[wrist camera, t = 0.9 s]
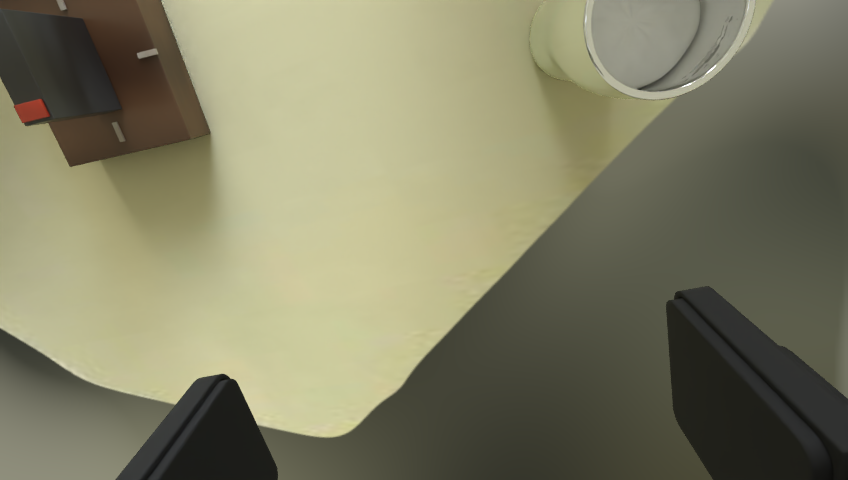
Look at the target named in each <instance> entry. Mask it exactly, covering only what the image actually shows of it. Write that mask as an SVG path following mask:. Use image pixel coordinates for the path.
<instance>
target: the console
mask: <svg viewBox="0 0 848 480" xmlns="http://www.w3.org/2000/svg"><path fill="white" fill-rule="evenodd" d="M0 9H8V10H17V11H25V12H34V13H42V14H51V15H59V16H68V17H76V18H83V20H84V23H85V25H86V27H87V29H88V32H89V34H90V36H91V39H92V41H93V43H94V45H95V48H96V50H97V52H98V55H99V57H100V59H101V61H102V64H103V66H104V68H105V71H106V73H107V75H108V77H109V80H110V82H111V84H112V87H113V89H114V91H115V93H116V96H117V98H118V100H119V103H120V105H121V107H122V110H118V111H114V112H110V113H106V114H102V115H97V116H91V117H84V118H77V119H71V120H64V121H58V122H51V123H49V125H50V127H51V129H52V131H53V133H54V135H55V137H56V139H57V141H58V143H59V145H60V147H61V149H62V151H63V154H64V156H65V158H66V160H67V162H68V164H69V166H70V167H72V166H77V165H81V164H85V163H90V162H94V161H98V160H103V159H107V158H111V157H116V156H120V155H125V154H129V153H133V152H138V151H142V150H146V149H151V148H155V147H159V146H164V145H168V144H172V143H177V142H181V141H185V140H190V139H193V138H197V137H200V136H203V135H207V134H210V130H209V127H208V125H207V122H206V119H205V117H204V114H203V111H202V109H201V106H200V103H199V101H198V98H197V95H196V93H195V90H194V88H193V85H192V82H191V80H190V77H189V74H188V72H187V69H186V66H185V64H184V61H183V58H182V56H181V53H180V50H179V48H178V45H177V43H176V40H175V37H174V35H173V32H172V29H171V27H170V24H169V21H168V19H167V16H166V13H165V11H164V8H163V5H162V3H161V0H0Z"/></svg>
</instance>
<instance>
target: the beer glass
mask: <svg viewBox="0 0 848 480" xmlns="http://www.w3.org/2000/svg"><path fill="white" fill-rule="evenodd" d="M755 5H756V0H545V1H544V2H543V3H542V4H541V5H540V7H539V8H538V10H537V12H536V13H535V15H534V18H533V20H532V23H531V27H530V34H529V43H530V49H531V53H532V56H533V58H534V60H535V62H536V64H537V65H538V66H539V68H540V69H541V70H542V71H543V72H545V73H546V74H547V75H549V76H551V77H553V78H556V79H559V80H566V81H572V82H573V83H575V84H576V85H577V86H579V87H580V88H582V89H584V90H586V91H589V92H591V93H594V94H597V95H600V96H604V97H609V98H617V99H644V100H663V99H669V98H673V97H677V96H680V95H683V94H686V93H688V92H690V91H692V90H694V89H696V88H698V87H700V86H702V85H703V84H704V83H706V82H707V81H709V80H710V79H712V78H713V77H714V76H715V75H716V74H718V73H719V72H720V71H721V70H722V69H723V68H724V67H725V66H726V65H727V64H728V62H729V61H730V60H731V59H732V57H733V56H734V55H735V53H736V52H737V50H738V49H739V47H740V46H741V44H742V42H743V40H744V38H745V36H746V34H747V32H748V30H749V27H750V24H751V22H752V18H753V14H754V10H755Z"/></svg>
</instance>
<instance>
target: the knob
mask: <svg viewBox="0 0 848 480" xmlns="http://www.w3.org/2000/svg"><path fill="white" fill-rule="evenodd" d="M0 78H1V80H2V82H3V83H4V85H5V87H6V89H7V91H8V93H9V95H10V97H11V99H12V101H13V103H14V105H15V106H14V108H15V110H16V112H17V114H18V116H19V117H20V119H21V121H22V123H24V124H25V126H31V125H38V124H44V123H51V122H58V121H64V120H71V119H77V118H84V117H91V116H97V115H102V114H106V113H110V112H114V111H118V110H122V107H121V105H120V103H119V100H118V98H117V96H116V93H115V91H114V89H113V87H112V84H111V82H110V80H109V77H108V75H107V73H106V71H105V68H104V66H103V64H102V61H101V59H100V57H99V55H98V52H97V50H96V48H95V45H94V43H93V41H92V39H91V36H90V34H89V32H88V29H87V27H86V25H85V23H84V20H83V18H76V17H68V16H59V15H51V14H42V13H34V12H25V11H17V10H8V9H0Z"/></svg>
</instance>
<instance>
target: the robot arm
mask: <svg viewBox="0 0 848 480" xmlns="http://www.w3.org/2000/svg"><path fill="white" fill-rule="evenodd" d="M666 312H667V326H668V340H669V356H670V370H671V384H672V398H673V410H674V414H675V417H676V420H677V422H678V424H679V426H680V428H681V429H682V431H683V432H684V434H685V436H686V437H687V439H688V440H689V442H690V444H691V445H692V447H693V448H694V450H695V452H696V453H697V455H698V456H699V458H700V460H701V461H702V463H703V464H704V466H705V467H706V469H707V471H708V472H709V474H710V475H711V477H712V479H713V480H848V399H847V398H846V397H845V396H844V395H843V394H841V393H840V392H839V391H838V390H837V389H835V388H834V387H833V386H832V385H831V384H830V383H828V382H827V381H826V380H825V379H824V378H822V377H821V376H820V375H819V374H818V373H817V372H815V371H814V370H813V369H812V368H810V367H809V366H808V365H807V364H806V363H805V362H804V361H802V360H801V359H800V358H799V357H798V356H796V355H795V354H794V353H793V352H792V351H790V350H788V349H787V348H785V347H783V346H779V345H777V344H776V343H775V342H774V341H773V340H771V339H770V338H769V337H768V336H767V335H765V334H764V333H763V332H762V331H761V330H760V329H759V328H758V327H756V326H755V325H754V324H753V323H752V322H750V321H749V320H748V319H747V318H746V317H745V316H744V315H742V314H741V313H740V312H739V311H738V310H737V309H735V308H734V307H733V306H732V305H731V304H730V303H729V302H727V301H726V300H725V299H724V298H723V297H722V296H720V295H719V294H718V293H717V292H716V291H715V290H713V289H712V288H710V287H709V286H705V287H700V288H694V289H688V290H683V291H678V292H676V293H675V296H674V300H669V301H668V302H667V304H666ZM277 479H278V472H277V466H276V464H275V462H274V460H273V458H272V456H271V453H270V451H269V449H268V447H267V445H266V443H265V441H264V439H263V436H262V434H261V432H260V430H259V428H258V426H257V424H256V421H255V419H254V417H253V415H252V413H251V411H250V409H249V407H248V404H247V402H246V400H245V398H244V396H243V394H242V392H241V390H240V387H239V385H238V383H237V382H236V381H235V380H234V379H230V378H229V377H228V376H227V375H225V374H219V375H214V376H208V377H203V378H199V379H197V380H196V381H195V382H194V383H193V384H192V385H191V386H190V388H189V389H188V390H187V391H186V393H185V394H184V395H183V396H182V398H181V399H180V400H179V401H178V403H177V404H176V405H175V406H174V408H173V409H172V410H171V411H170V413H169V414H168V415H167V416H166V418H165V419H164V420H163V421H162V423H161V424H160V425H159V426H158V428H157V429H156V430H155V432H154V433H153V434H152V435H151V436H150V437H149V439H148V440H147V441H146V442H145V444H144V445H143V446H142V447H141V449H140V450H139V451H138V452H137V454H136V455H135V456H134V457H133V459H132V460H131V461H130V462H129V464H128V465H127V466H126V467H125V469H124V470H123V471H122V472H121V473H120V475H119V476H118V477H117V479H116V480H277Z"/></svg>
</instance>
